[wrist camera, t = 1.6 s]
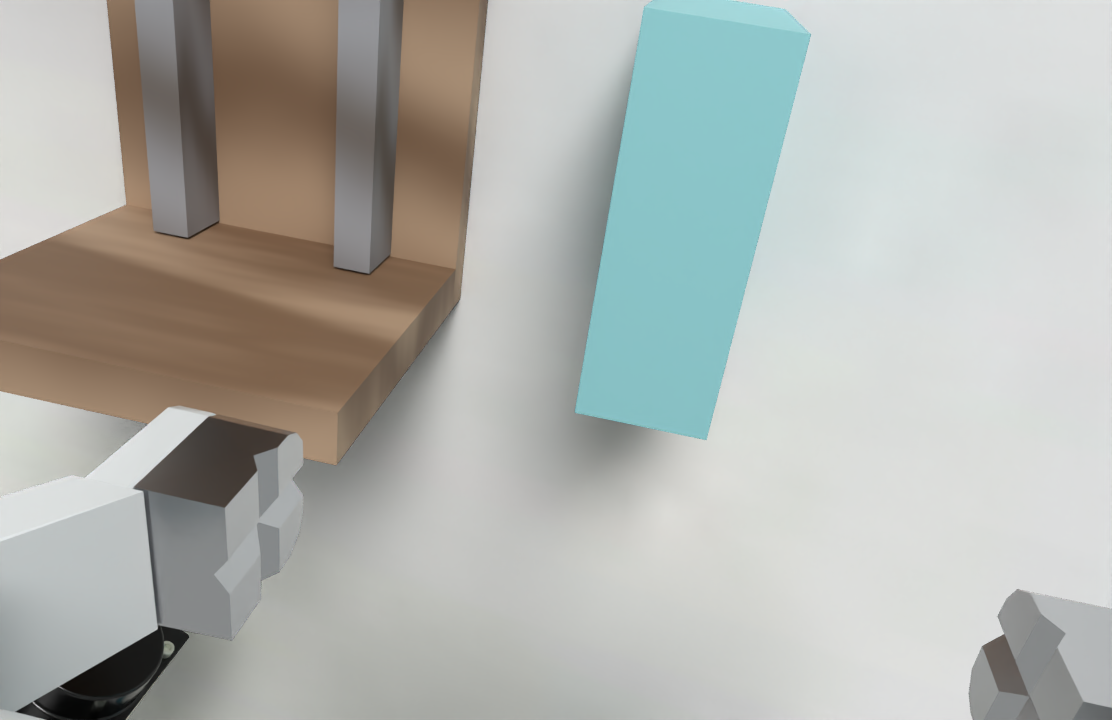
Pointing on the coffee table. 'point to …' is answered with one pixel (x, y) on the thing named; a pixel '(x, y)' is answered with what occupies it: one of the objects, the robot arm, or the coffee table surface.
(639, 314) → the door panel
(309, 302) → the cabinet base
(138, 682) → the pneumatic valve
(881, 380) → the coffee table surface
